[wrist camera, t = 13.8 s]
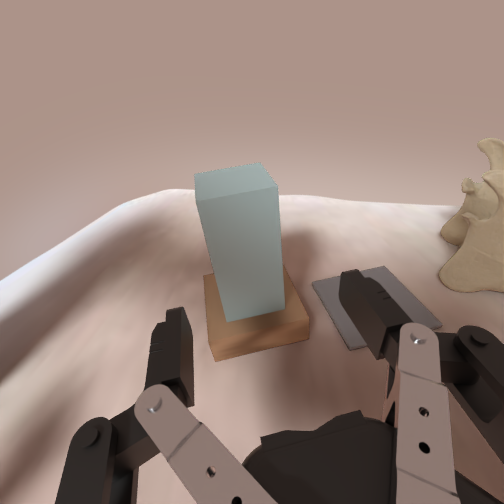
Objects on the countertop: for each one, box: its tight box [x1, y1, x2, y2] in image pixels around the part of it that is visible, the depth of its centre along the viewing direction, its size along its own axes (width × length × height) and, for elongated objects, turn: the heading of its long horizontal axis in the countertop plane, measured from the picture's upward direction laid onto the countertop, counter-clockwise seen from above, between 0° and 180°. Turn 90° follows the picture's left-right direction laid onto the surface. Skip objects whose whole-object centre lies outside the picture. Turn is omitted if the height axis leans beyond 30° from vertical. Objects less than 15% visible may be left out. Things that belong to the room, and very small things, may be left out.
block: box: [194, 163, 285, 322], centre depth 23 cm, size 6×6×12 cm
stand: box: [203, 265, 309, 362], centre depth 28 cm, size 9×9×3 cm
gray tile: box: [312, 266, 442, 350], centre depth 28 cm, size 9×9×1 cm
